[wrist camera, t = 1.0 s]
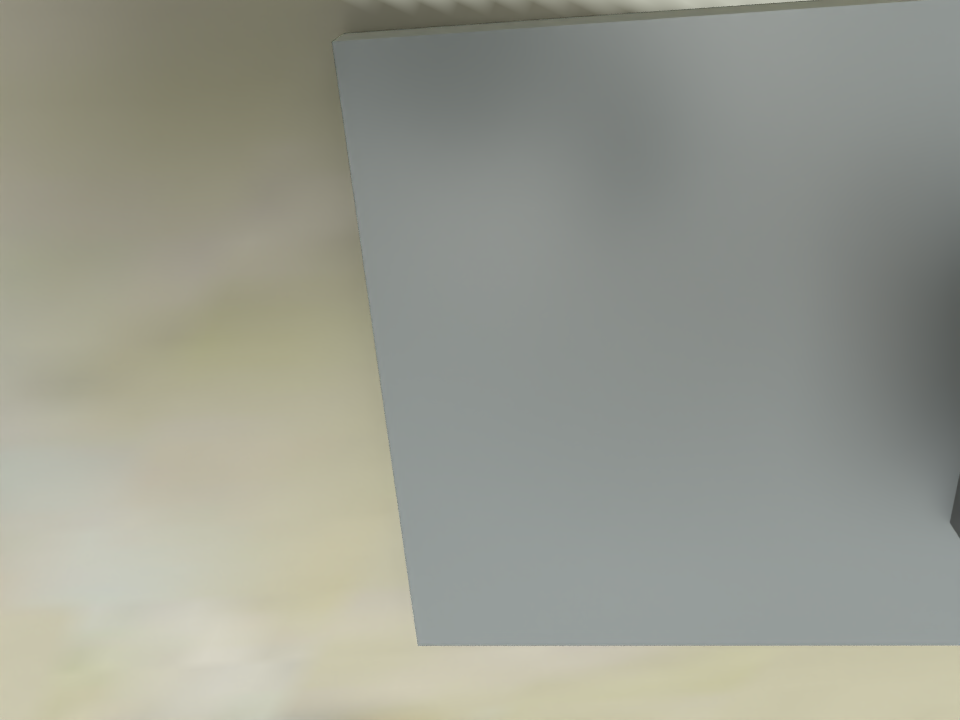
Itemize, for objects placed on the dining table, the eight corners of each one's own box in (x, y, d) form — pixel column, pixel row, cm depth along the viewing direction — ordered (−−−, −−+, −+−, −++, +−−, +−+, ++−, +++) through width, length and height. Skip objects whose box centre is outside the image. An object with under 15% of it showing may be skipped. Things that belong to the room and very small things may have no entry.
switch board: (423, 614, 26) (394, 769, 21) (344, 33, 19) (275, 77, 14) (1202, 611, 24) (1357, 782, 19) (1452, -45, 17) (1796, -23, 12)
